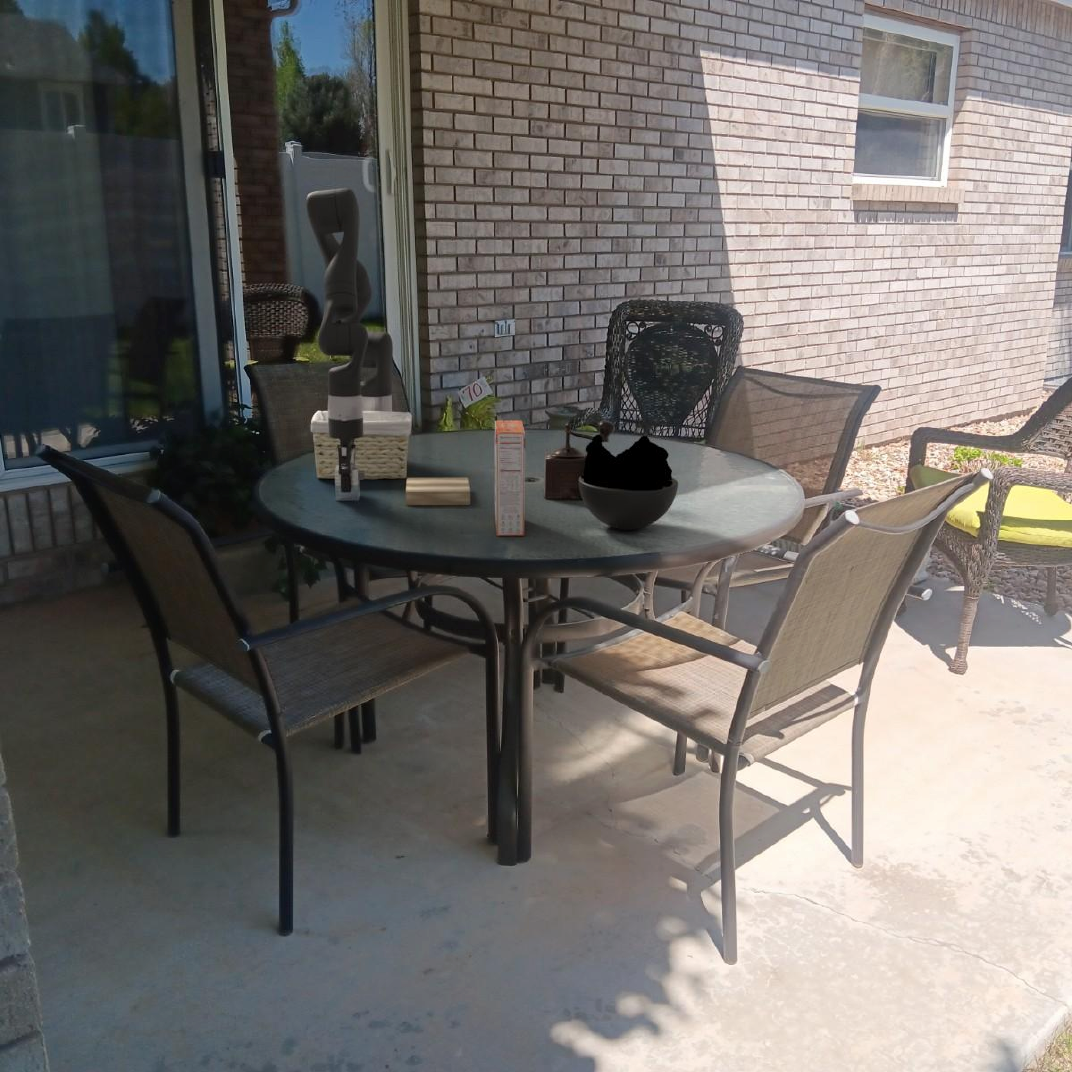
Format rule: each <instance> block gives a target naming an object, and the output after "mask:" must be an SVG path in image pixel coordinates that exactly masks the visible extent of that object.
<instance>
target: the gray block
mask: <svg viewBox="0 0 1072 1072" xmlns="http://www.w3.org/2000/svg"><path fill="white" fill-rule="evenodd" d="M342 469H348V467H342ZM338 471H339V466H338V465H336V468H335V478H334V486H335V487H334V489H335V491H334V493H335V502H336V501H337V502H342V501H343V502H345V501H346V502H348V501H351V502H354V501H355V502H359V501H360V497H361V485H360V481H363V480H365V479H364V478H365V474H364V470H359V465H354V466H353V467H352V468H351V472H352V474H351V492H349V493H343V492H341V476H340V475H339V473H338Z"/></svg>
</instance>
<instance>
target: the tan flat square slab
mask: <svg viewBox="0 0 1072 1072" xmlns="http://www.w3.org/2000/svg"><path fill="white" fill-rule="evenodd" d="M405 486H406V487H405V505H406V506H466V505H467V506H470V505H471V488H470V482H469V477H406V485H405Z"/></svg>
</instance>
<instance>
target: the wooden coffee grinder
mask: <svg viewBox="0 0 1072 1072" xmlns="http://www.w3.org/2000/svg"><path fill="white" fill-rule="evenodd" d="M597 426H598V427H597V428H598V431H599V433H598V435H600V436H602V443H608V442H610V439H609V437H610V435H611V434H613V433H614V432H615V430H616V427H615V424H613V422H611V421H609V420H605V419H604V420H602V421H600V422H599V423H598V425H597ZM571 427H572V425H571V423H566V424H565V430H564V433H565V444H564V445H563V446H560V447H558V448H556V449H555V450H545V452H544V469H543V470H544V471H543V488H542V490H543V498H544V499H545V500H565V501H566V500H567V501H569V500H583V499H582V496H581V493H580V489H579V478H580V476H582V475H584V467H585V459H586V455H587V452H586V451H581V450H580V449H578V448H577V447H576V446H575V447H574V446H571V443H570V440H571V436H573V437H576V438H581V439H586V440H590V441H592V439H593V437H594V436H592V435H588V434H586V433H578V432H574V431H572V429H571Z"/></svg>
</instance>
